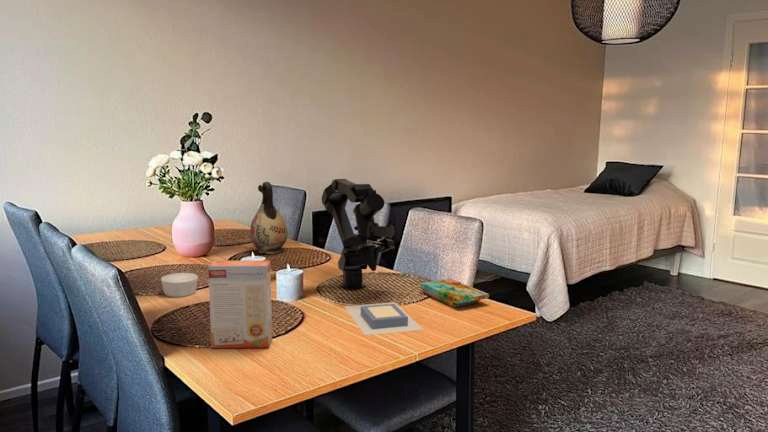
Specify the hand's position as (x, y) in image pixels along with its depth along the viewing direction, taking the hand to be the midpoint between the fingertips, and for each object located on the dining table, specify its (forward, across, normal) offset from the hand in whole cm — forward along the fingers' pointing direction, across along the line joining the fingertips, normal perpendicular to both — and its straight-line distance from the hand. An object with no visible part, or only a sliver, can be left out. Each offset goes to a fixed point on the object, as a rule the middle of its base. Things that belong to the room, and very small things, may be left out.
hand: (373, 270), depth 175 cm
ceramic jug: (-28, +24, +71) cm, 80 cm away
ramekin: (-6, -30, +55) cm, 63 cm away
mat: (+16, -6, -5) cm, 18 cm away
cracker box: (+18, -43, +12) cm, 48 cm away
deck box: (+12, -5, -3) cm, 14 cm away
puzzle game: (+12, +22, -12) cm, 28 cm away
